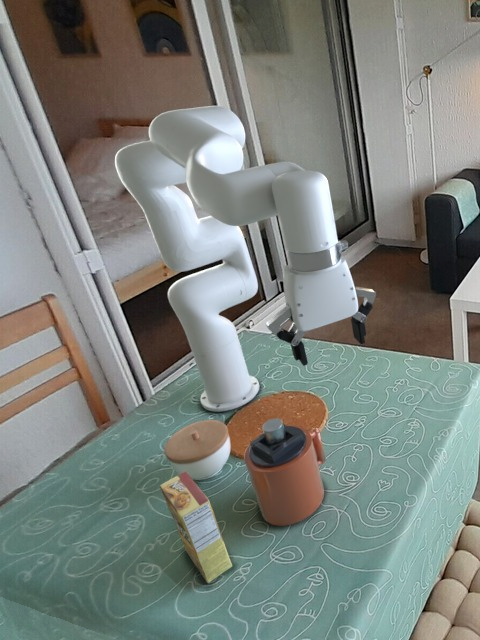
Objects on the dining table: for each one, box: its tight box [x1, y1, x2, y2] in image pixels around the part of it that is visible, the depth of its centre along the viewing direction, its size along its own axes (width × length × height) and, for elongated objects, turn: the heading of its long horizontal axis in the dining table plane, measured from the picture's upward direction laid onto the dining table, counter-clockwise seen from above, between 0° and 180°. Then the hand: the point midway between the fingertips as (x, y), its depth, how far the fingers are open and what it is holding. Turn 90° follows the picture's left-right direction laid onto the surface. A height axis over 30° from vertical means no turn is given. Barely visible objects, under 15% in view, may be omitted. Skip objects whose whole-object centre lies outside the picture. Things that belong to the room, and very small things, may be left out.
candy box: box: [159, 471, 233, 584], centre depth 79 cm, size 9×4×15 cm, turn 50°
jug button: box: [262, 418, 286, 445], centre depth 85 cm, size 3×3×3 cm
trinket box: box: [163, 419, 232, 481], centre depth 97 cm, size 11×11×9 cm
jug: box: [243, 423, 327, 527], centre depth 90 cm, size 11×14×15 cm
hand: (332, 350), depth 82 cm, fingers open, 9 cm apart
